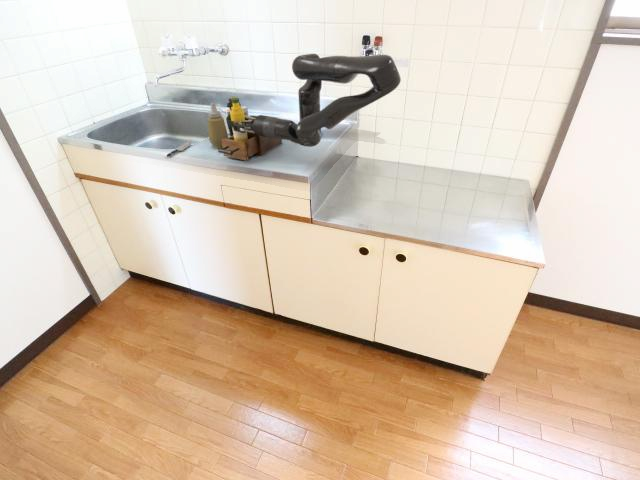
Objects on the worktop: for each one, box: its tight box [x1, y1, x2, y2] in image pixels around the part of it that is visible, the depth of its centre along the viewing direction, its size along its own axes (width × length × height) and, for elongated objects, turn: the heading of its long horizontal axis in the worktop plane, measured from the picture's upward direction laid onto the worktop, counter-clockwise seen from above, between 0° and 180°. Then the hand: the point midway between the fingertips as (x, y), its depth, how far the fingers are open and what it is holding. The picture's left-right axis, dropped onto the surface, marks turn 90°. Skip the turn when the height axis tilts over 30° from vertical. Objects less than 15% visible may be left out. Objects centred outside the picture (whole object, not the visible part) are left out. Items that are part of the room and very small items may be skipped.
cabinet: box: [247, 131, 283, 156], centre depth 156 cm, size 15×12×9 cm
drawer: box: [217, 134, 259, 162], centre depth 147 cm, size 19×11×7 cm, turn 151°
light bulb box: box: [220, 104, 250, 135], centre depth 172 cm, size 11×7×11 cm, turn 130°
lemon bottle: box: [230, 97, 248, 142], centre depth 143 cm, size 5×5×20 cm
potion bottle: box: [226, 96, 242, 137], centre depth 161 cm, size 8×8×18 cm
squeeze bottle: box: [206, 102, 229, 149], centre depth 154 cm, size 8×8×18 cm
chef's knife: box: [166, 140, 192, 157], centre depth 157 cm, size 19×1×3 cm
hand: (233, 121), depth 143 cm, fingers closed on lemon bottle, 5 cm apart
